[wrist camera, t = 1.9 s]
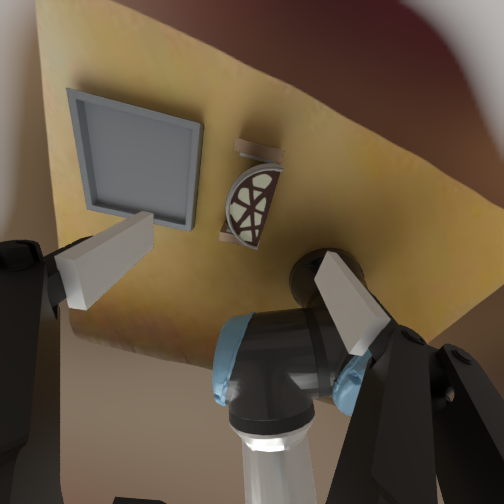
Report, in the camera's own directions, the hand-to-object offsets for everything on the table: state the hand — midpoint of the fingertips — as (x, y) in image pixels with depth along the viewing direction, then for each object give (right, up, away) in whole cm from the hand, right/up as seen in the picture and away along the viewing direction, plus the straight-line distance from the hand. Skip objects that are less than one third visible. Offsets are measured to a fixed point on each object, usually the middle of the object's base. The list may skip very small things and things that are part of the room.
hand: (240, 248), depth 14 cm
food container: (0, +10, +20) cm, 22 cm away
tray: (-17, +14, +18) cm, 28 cm away
